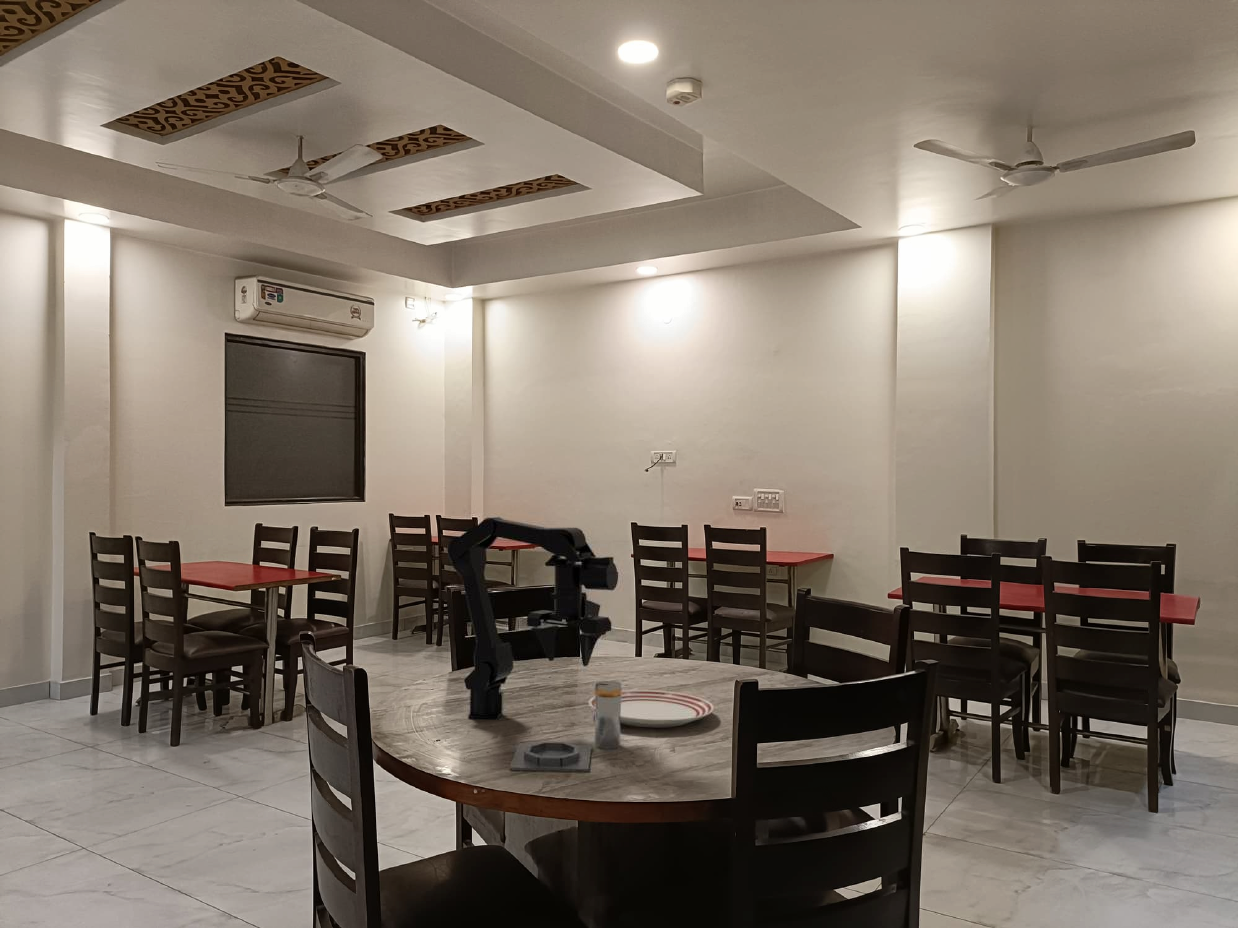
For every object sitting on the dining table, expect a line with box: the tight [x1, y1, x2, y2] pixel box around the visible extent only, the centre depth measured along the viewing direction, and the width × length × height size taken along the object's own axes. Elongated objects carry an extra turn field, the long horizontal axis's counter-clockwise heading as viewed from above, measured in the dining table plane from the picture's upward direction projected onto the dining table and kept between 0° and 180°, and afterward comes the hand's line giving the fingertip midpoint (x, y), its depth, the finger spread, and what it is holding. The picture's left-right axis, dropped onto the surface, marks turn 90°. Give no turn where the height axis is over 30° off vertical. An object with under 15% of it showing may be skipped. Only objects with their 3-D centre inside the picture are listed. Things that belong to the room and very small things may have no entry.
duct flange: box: [508, 740, 593, 773], centre depth 167 cm, size 14×14×2 cm
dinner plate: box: [588, 689, 715, 729], centre depth 198 cm, size 27×27×3 cm
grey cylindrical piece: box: [594, 680, 623, 750], centre depth 176 cm, size 5×5×12 cm
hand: (568, 663), depth 188 cm, fingers open, 9 cm apart
